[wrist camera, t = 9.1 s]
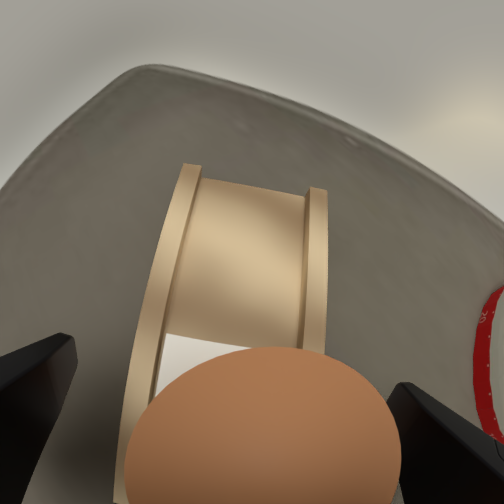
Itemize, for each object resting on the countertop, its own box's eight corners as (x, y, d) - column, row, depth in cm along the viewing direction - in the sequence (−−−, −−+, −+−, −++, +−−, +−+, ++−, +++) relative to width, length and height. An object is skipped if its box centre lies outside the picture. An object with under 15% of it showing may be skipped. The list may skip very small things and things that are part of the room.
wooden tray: (290, 510, 11) (310, 532, 8) (123, 489, 10) (106, 509, 7) (315, 210, 18) (333, 179, 16) (184, 185, 18) (183, 150, 15)
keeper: (276, 483, 10) (411, 603, 1) (149, 467, 10) (48, 594, 1) (291, 356, 13) (455, 268, 4) (168, 337, 13) (97, 201, 4)
